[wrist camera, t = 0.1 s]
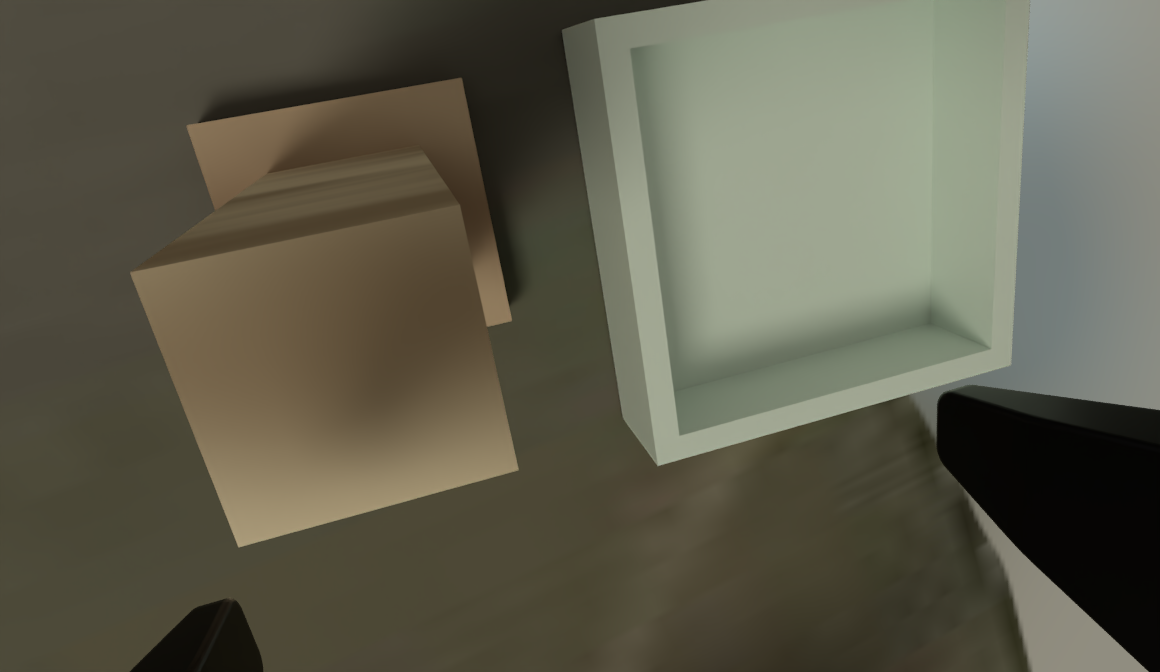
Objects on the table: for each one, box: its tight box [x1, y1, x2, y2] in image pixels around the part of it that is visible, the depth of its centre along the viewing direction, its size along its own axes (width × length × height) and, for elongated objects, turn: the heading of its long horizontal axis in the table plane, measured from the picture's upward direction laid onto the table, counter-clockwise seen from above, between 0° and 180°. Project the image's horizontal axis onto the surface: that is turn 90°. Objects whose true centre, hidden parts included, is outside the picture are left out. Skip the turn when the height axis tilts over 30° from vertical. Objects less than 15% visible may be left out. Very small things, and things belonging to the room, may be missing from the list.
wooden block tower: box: [130, 78, 518, 547], centre depth 16 cm, size 7×7×12 cm
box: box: [562, 0, 1030, 466], centre depth 23 cm, size 13×13×4 cm
